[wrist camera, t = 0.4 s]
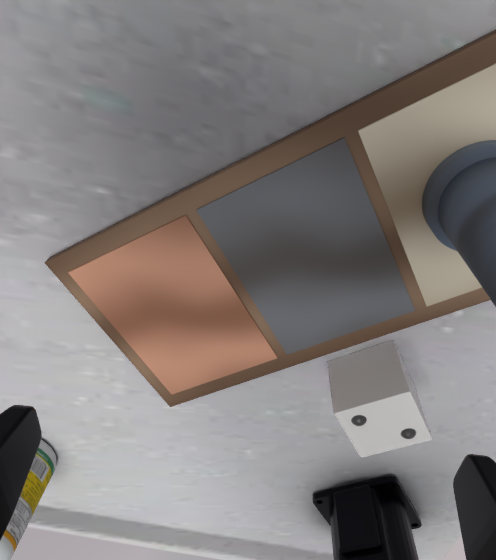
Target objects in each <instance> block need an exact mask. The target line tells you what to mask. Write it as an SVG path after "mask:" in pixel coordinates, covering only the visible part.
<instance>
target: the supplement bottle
mask: <svg viewBox="0 0 496 560" xmlns="http://www.w3.org/2000/svg"><path fill="white" fill-rule="evenodd" d="M55 468H56V455H55V453H54V451H53V450H52V448H51V447H50V446H49V445H48V444H47V443H46V442H44V441H43V440H41V441H40V445H39V447H38V450H37V453H36V455H35V458H34V461H33V463H32V466H31V469H30V471H29V474H28V477H27V479H26V482H25V485H24V487H23V490H22V493H21V495H20V498H19V501H18V503H17V506H16V508H15V511H14V513H13V516H12V518H11V520H10V522H9V524H8V526H7V528H6V530H5V532H4V534H3V536H2V538H1V540H0V560H10V559H11V557H12V555H13V553H14V551H15V549H16V547H17V545H18V543H19V541H20V539H21V537H22V535H23V533H24V531H25V529H26V527H27V525H28V523H29V521H30V519H31V517H32V515H33V513H34V511H35V509H36V507H37V505H38V503H39V501H40V499H41V497H42V494H43V493H44V491H45V489H46V487H47V485H48V483H49V481H50V479H51V477H52V475H53V472H54V470H55Z"/></svg>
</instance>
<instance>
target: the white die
mask: <svg viewBox="0 0 496 560" xmlns="http://www.w3.org/2000/svg"><path fill="white" fill-rule="evenodd" d="M327 363H328V371H329V379H330V387H331V396H332V404H333V412H334V415H335V416H336V418H337V420H338V421H339V423H340V425H341V426H342V428H343V430H344V431H345V433H346V434H347V436H348V438H349V439H350V441H351V443H352V444H353V446H354V448H355V449H356V451H357V452H358V454H359V456H360V457H361V458H363V457H367V456H371V455H375V454H379V453H383V452H387V451H391V450H395V449H399V448H403V447H406V446H410V445H414V444H418V443H422V442H426V441H430V440H433V439H432V436H431V433H430V430H429V428H428V425H427V422H426V419H425V416H424V413H423V410H422V407H421V404H420V401H419V398H418V395H417V392H416V390H415V387H414V384H413V382H412V380H411V378H410V375H409V373H408V371H407V369H406V367H405V365H404V362H403V360H402V358H401V356H400V354H399V351H398V349H397V347H396V345H395V343H394V341H393V340H391V341H388V342H385V343H382V344H379V345H376V346H373V347H370V348H367V349H363V350H360V351H357V352H354V353H351V354H348V355H345V356H342V357H339V358H336V359H333V360H330V361H327Z"/></svg>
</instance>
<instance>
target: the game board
mask: <svg viewBox="0 0 496 560" xmlns="http://www.w3.org/2000/svg"><path fill="white" fill-rule="evenodd" d="M487 140H496V30H495V31H493V32H491V33H489V34H487V35H485V36H483V37H481V38H479V39H477V40H475V41H473V42H471V43H469V44H467V45H465V46H463V47H461V48H459V49H458V50H456V51H454V52H452V53H450V54H448V55H446V56H444V57H442V58H440V59H438V60H436V61H434V62H432V63H430V64H428V65H426V66H424V67H422V68H420V69H418V70H416V71H414V72H412V73H410V74H409V75H407V76H405V77H403V78H401V79H399V80H397V81H395V82H393V83H391V84H389V85H387V86H385V87H383V88H381V89H379V90H377V91H375V92H373V93H371V94H369V95H367V96H365V97H363V98H362V99H360V100H358V101H356V102H354V103H352V104H350V105H348V106H346V107H344V108H342V109H340V110H338V111H336V112H334V113H332V114H330V115H328V116H326V117H324V118H322V119H320V120H318V121H316V122H315V123H313V124H311V125H309V126H307V127H305V128H303V129H301V130H299V131H297V132H295V133H293V134H291V135H289V136H287V137H285V138H283V139H281V140H279V141H277V142H275V143H273V144H271V145H269V146H267V147H266V148H264V149H262V150H260V151H258V152H256V153H254V154H252V155H250V156H248V157H246V158H244V159H242V160H240V161H238V162H236V163H234V164H232V165H230V166H228V167H226V168H224V169H222V170H220V171H219V172H217V173H215V174H213V175H211V176H209V177H207V178H205V179H203V180H201V181H199V182H197V183H195V184H193V185H191V186H189V187H187V188H185V189H183V190H181V191H179V192H177V193H175V194H173V195H171V196H170V197H168V198H166V199H164V200H162V201H160V202H158V203H156V204H154V205H152V206H150V207H148V208H146V209H144V210H142V211H140V212H138V213H136V214H134V215H132V216H130V217H128V218H126V219H124V220H123V221H121V222H119V223H117V224H115V225H113V226H111V227H109V228H107V229H105V230H103V231H101V232H99V233H97V234H95V235H93V236H91V237H89V238H87V239H85V240H83V241H81V242H79V243H77V244H75V245H74V246H72V247H70V248H68V249H66V250H64V251H62V252H60V253H58V254H56V255H54V256H52V257H50V258H49V259H48V260H47V261H46V262H45V264H46V265H47V266H48V267H49V268H50V269H51V271H52V272H53V273H54V274H55V275H56V276H57V277H58V279H59V280H60V281H61V282H62V283H63V284H64V285H65V287H66V288H67V289H68V290H69V291H70V292H71V294H72V295H73V296H74V297H75V298H76V299H77V300H78V302H79V303H80V304H81V305H82V306H83V307H84V308H85V310H86V311H87V312H88V313H89V314H90V315H91V316H92V318H93V319H94V320H95V321H96V322H97V323H98V325H99V326H100V327H101V328H102V329H103V330H104V331H105V333H106V334H107V335H108V336H109V337H110V338H111V339H112V341H113V342H114V343H115V344H116V345H117V346H118V348H119V349H120V350H121V351H122V352H123V353H124V354H125V356H126V357H127V358H128V359H129V360H130V361H131V362H132V364H133V365H134V366H135V367H136V368H137V369H138V370H139V372H140V373H141V374H142V375H143V376H144V377H145V379H146V380H147V381H148V382H149V383H150V384H151V385H152V387H153V388H154V389H155V390H156V391H157V392H158V393H159V395H160V396H161V397H162V398H163V399H164V400H165V402H166V403H167V404H168V405H169V406H170V407H172V406H175V405H178V404H181V403H184V402H187V401H190V400H193V399H195V398H198V397H201V396H204V395H207V394H210V393H213V392H216V391H219V390H222V389H225V388H228V387H231V386H234V385H237V384H240V383H243V382H246V381H249V380H252V379H255V378H258V377H261V376H264V375H267V374H270V373H273V372H276V371H279V370H282V369H285V368H288V367H291V366H294V365H297V364H300V363H303V362H306V361H309V360H312V359H315V358H318V357H321V356H324V355H327V354H330V353H333V352H336V351H339V350H342V349H345V348H348V347H351V346H354V345H357V344H360V343H363V342H366V341H369V340H371V339H374V338H377V337H380V336H383V335H386V334H389V333H392V332H395V331H398V330H401V329H404V328H407V327H410V326H413V325H416V324H419V323H422V322H425V321H428V320H431V319H434V318H437V317H440V316H443V315H446V314H449V313H452V312H455V311H458V310H461V309H464V308H467V307H470V306H473V305H476V304H479V303H482V302H485V301H488V300H491V299H490V298H489V296H488V295H487V293H486V292H485V290H484V289H483V287H482V286H481V285H480V283H479V282H478V280H477V279H476V277H475V276H474V274H473V273H472V272H471V270H470V269H469V267H468V266H467V264H466V263H465V261H464V260H463V259H462V257H461V256H460V254H459V253H458V251H455V250H453V249H450V248H449V247H447V246H445V245H444V244H442V243H441V242H440V241H439V240H438V239H437V238H436V237H435V235H434V234H433V232H432V230H431V229H430V227H429V226H428V224H427V223H426V220H425V218H424V215H423V211H422V197H423V192H424V189H425V186H426V184H427V181H428V179H429V178H430V176H431V174H432V173H433V171H434V170H435V169H436V168H437V166H438V165H439V164H440V163H441V162H442V161H443V160H445V159H446V158H447V157H448V156H449V155H451V154H452V153H454V152H455V151H457V150H459V149H461V148H463V147H465V146H467V145H470V144H473V143H476V142H480V141H487Z"/></svg>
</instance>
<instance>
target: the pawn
mask: <svg viewBox="0 0 496 560" xmlns="http://www.w3.org/2000/svg"><path fill="white" fill-rule="evenodd" d="M422 211H423V215H424V218H425V220H426V223H427V224H428V226H429V227H430V229H431V230H432V232H433V234H434V235H435V237H436V238H437V239H438V240H439V241H440V242H441V243H442V244H444V245H445V246H447V247H449V248H450V249H453V250H455V251H458V253H459V254H460V256H461V257H462V259H463V260H464V261H465V263H466V264H467V266H468V267H469V269H470V270H471V272H472V273H473V274H474V276H475V277H476V279H477V280H478V282H479V283H480V285H481V286H482V287H483V289H484V290H485V292H486V293H487V295H488V296H489V298H490V299H491V300H492V302H493V303H494V305H495V306H496V140H487V141H480V142H476V143H473V144H470V145H467V146H465V147H463V148H461V149H459V150H457V151H455V152H454V153H452V154H451V155H449V156H448V157H447V158H446V159H445V160H443V161H442V162H441V163H440V164H439V165H438V166H437V168H436V169H435V170H434V171H433V173H432V174H431V176H430V178H429V179H428V181H427V184H426V186H425V189H424V192H423V197H422Z"/></svg>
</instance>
